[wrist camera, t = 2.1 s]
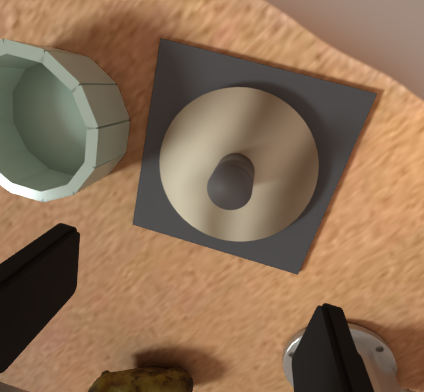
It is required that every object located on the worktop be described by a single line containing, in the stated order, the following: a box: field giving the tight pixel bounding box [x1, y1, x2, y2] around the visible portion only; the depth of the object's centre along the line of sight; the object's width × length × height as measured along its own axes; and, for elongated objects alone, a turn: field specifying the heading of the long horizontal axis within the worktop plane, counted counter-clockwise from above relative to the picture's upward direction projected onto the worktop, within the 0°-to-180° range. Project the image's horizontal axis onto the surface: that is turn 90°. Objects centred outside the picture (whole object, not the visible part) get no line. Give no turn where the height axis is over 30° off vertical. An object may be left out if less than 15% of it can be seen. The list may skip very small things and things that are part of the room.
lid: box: [159, 87, 319, 242], centre depth 26 cm, size 15×15×6 cm
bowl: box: [0, 39, 130, 202], centre depth 27 cm, size 13×13×6 cm
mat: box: [133, 38, 377, 274], centre depth 29 cm, size 19×19×1 cm
